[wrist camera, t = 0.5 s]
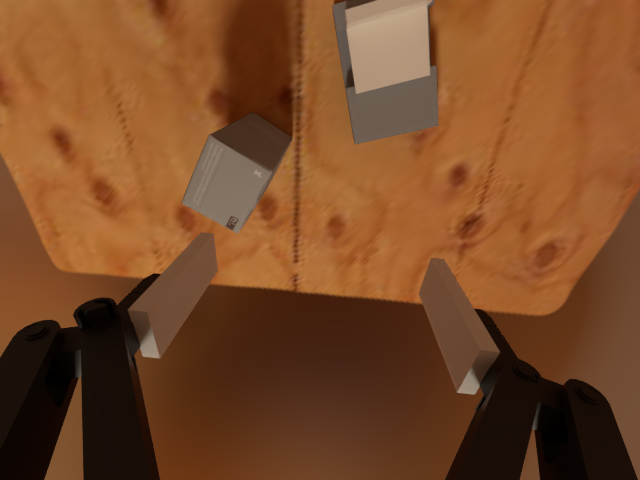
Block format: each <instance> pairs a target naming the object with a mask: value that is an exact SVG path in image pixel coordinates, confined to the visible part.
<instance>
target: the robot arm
mask: <svg viewBox="0 0 640 480" xmlns="http://www.w3.org/2000/svg"><path fill="white" fill-rule="evenodd" d="M217 271H218V268H217V259H216V250H215V241H214V234H212V233H203V232H201V233H200V234H199V235H198V236H197V237H196V238H195V239H194V240H193V241H192V242H191V244H190V245H189V246H188V247H187V248H186V249H185V250H184V251H183V252H182V253H181V254H180V255H179V256H178V257H177V258H176V259H175V260H174V261H173V262H172V264H171V265H170V266H169V267H168V268H167V269H166V270H165V271H164V272H163V273H162V274H155V273H154V274H152V275H150V276H148V277H146V278H145V279H143V280H142V281H141V282H140V283H139V284H138V285H137V287H135V288H134V289H133V290H132V291H131V293H129V294H128V295H127V296H126V297H125V298H124V299H123V300H122V301H121V302H120V303H119V304H118V305H116V303H115V301H114V300H113V299H111V298H97V299H93V300H90V301H88V302H86V303H84V304H82V305H80V306H79V307H78V308H77V309H76V310H75V312H74V315H73V316H74V318H75V320H76V322H77V325H78V326H77V327H70V328H61V327H60V325H59V323H58V322H56V321H54V320H43V321H39V322H36V323H33V324H31V325H28V326H26V327H24V328H23V329H22V330H20V331H19V332H17V334H16V335H15V336H14V337H13V338H12V340H11V341H10V343H9V345H8V346H7V348H6V349H5V351H4V352H3V354H2V356H1V357H0V480H44V478H45V476H46V473H47V470H48V467H49V464H50V461H51V458H52V455H53V452H54V449H55V446H56V443H57V440H58V437H59V434H60V431H61V428H62V425H63V422H64V419H65V416H66V414H67V411H68V407H69V405H70V402H71V399H72V396H73V393H74V390H75V387H76V384H77V381H78V378H79V377H82V378H81V381H82V424H83V425H82V426H83V469H84V471H83V472H84V480H160V478H159V472H158V467H157V462H156V457H155V452H154V448H153V442H152V437H151V433H150V428H149V423H148V418H147V413H146V408H145V404H144V398H143V393H142V388H141V383H140V379H139V374H138V369H137V364H136V359H135V356H134V355H135V353H136V352H137V351H138V349H139V348H140V349H141V352H142V355H143V356H144V357H153V358H161V356H162V355H163V353H164V352H165V350H166V349H167V347H168V346H169V344H170V343H171V341H172V340H173V338H174V337H175V335H176V333H177V332H178V330H179V329H180V327H181V326H182V324H183V323H184V321H185V320H186V318H187V317H188V315H189V314H190V312H191V311H192V309H193V307H194V306H195V305H196V303H197V302H198V300H199V299H200V297H201V296H202V294H203V292H204V291H205V289H206V288H207V286H208V285H209V284H210V282H211V280H212V279H213V277H214V276H215V274H216V273H217ZM419 295H420V298H421V300H422V303H423V305H424V308H425V311H426V313H427V316H428V318H429V321H430V324H431V326H432V329H433V331H434V334H435V337H436V339H437V342H438V344H439V347H440V349H441V352H442V355H443V357H444V360H445V363H446V365H447V368H448V371H449V373H450V376H451V378H452V381H453V383H454V386H455V389H456V391H457V393H465V394H475V393H476V391H477V390H478V388H479V386H480V387H481V390H482V392H483V394H484V396H483V397H482V399H481V401H480V402H479V404H478V405H477V407H476V408H475V410H476V412H475V414H474V416H473V419H472V421H471V423H470V425H469V427H468V430H467V432H466V434H465V436H464V439H463V441H462V443H461V445H460V448H459V450H458V452H457V454H456V456H455V459H454V461H453V463H452V465H451V467H450V470H449V472H448V474H447V476H446V479H445V480H520V476H521V472H522V467H523V463H524V459H525V455H526V451H527V447H528V443H529V439H530V435H531V431H532V429H534V430H535V438H536V447H537V456H538V464H539V473H540V480H638V479H637V476H636V474H635V471H634V468H633V466H632V463H631V460H630V457H629V455H628V452H627V449H626V447H625V444H624V441H623V439H622V436H621V433H620V431H619V428H618V425H617V423H616V420H615V417H614V414H613V412H612V409H611V406H610V404H609V403H608V401H607V400H606V398H605V397H604V396H603V395H602V394H601V393H600V392H599V391H598V390H596V389H595V388H594V387H592V386H591V385H589V384H587V383H585V382H583V381H579V380H577V379H569V380H568V381H566V383H565V384H564V385H561V384H558V383H555V382H552V381H550V380H547V379H544V378H542V377H541V375H540V373H539V372H538V371H537V370H536V369H535V368H534V367H532V366H531V365H530V364H528V363H527V362H524V361H522V360H520V359H518V358H517V356H516V355H515V353H514V352H513V350H512V349H511V347H510V345H509V344H508V342H507V341H506V339H505V338H504V337H503V335H501V332H500V331H499V329H498V328H497V326H496V324H495V323H494V321H493V320H492V318H491V317H490V316H489V315H487V313H485V312H484V311H483V310H481V309H474V308H473V306H472V305H471V303H470V301H469V300H468V298H467V296H466V295H465V293H464V292H463V290H462V288H461V287H460V285H459V283H458V282H457V280H456V278H455V277H454V275H453V273H452V272H451V270H450V268H449V267H448V265H447V263H446V262H445V260H444V259H437V258H431V260H430V263H429V266H428V269H427V272H426V275H425V277H424V280H423V283H422V286H421V289H420V292H419Z"/></svg>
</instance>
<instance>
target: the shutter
mask: <svg viewBox="0 0 640 480" xmlns="http://www.w3.org/2000/svg"><path fill="white" fill-rule="evenodd" d="M432 1H433V0H376V1H373V2H370V3H366V4H363V5H360V6H357V7H353V8H350V9H347V10H345V25H346V32H347V38H348V45H349V52H350V58H351V65H352V72H353V78H354V85H355V92H356V94H358V93H362V92H366V91H370V90H374V89H378V88H382V87H386V86H390V85H394V84H398V83H402V82H405V81H409V80H413V79H417V78H421V77H425V76H429V75H430V61H429V36H428V12H427V6H428V5H429V4H430V3H431V2H432Z"/></svg>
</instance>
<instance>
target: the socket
mask: <svg viewBox="0 0 640 480" xmlns="http://www.w3.org/2000/svg"><path fill="white" fill-rule="evenodd" d="M373 1H376V0H347V1H344V2H341V3H338V4H334V5H332V7H333V16H334V23H335V29H336V35H337V41H338V47H339V53H340V59H341V65H342V71H343V77H344V83H345V89H346V96H347V102H348V108H349V114H350V120H351V126H352V132H353V138H354V142H355V144H359V143H363V142H368V141H372V140H377V139H381V138H386V137H390V136H394V135H399V134H403V133H408V132H412V131H417V130H421V129H426V128H430V127H434V126H438V102H437V70H436V65H435V66H431V51H430V25H429V8H430V7H431V6H432V5H433V4H434V0H433V1H432V2H431V3H430V4H429V5H428V6H427V12H428V36H429V61H430V75H429V76H425V77H421V78H417V79H413V80H409V81H405V82H402V83H398V84H394V85H390V86H386V87H382V88H378V89H374V90H370V91H366V92H362V93H358V94H356V92H355V85H354V78H353V72H352V65H351V58H350V52H349V45H348V38H347V32H346V25H345V10H347V9H350V8H353V7H357V6H360V5H363V4H366V3H370V2H373Z"/></svg>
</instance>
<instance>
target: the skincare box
mask: <svg viewBox="0 0 640 480" xmlns="http://www.w3.org/2000/svg"><path fill="white" fill-rule="evenodd" d="M291 141H292V137H291V136H289V135H288V134H286V133H285V132H283V131H281V130H280V129H278V128H277V127H275V126H274V125H272V124H271V123H269V122H268V121H266V120H265V119H263V118H262V117H260V116H259V115H257V114H256V113H254V112H252V113H250V114H248V115H247V116H245V117H243V118H241V119H239V120H237V121H235V122H233V123H231V124H229V125H227V126H226V127H224V128H222V129H220V130H218V131H216V132H214V133H212V134H210V135H209V136H208V139H207V141H206V143H205V146H204V148H203V150H202V153H201V155H200V158H199V160H198V162H197V165H196V167H195V169H194V172H193V174H192V177H191V179H190V182H189V185H188V187H187V190H186V192H185V195H184V198H183V200H182V204H184V205H186V206H188V207H190V208H192V209H193V210H195V211H197V212H199V213H201V214H203V215H205V216H206V217H208V218H210V219H212V220H214V221H216V222H217V223H219V224H221V225H223V226H225V227H227V228H229V229H230V230H232V231H234V232H236V233H239V231H240V230H241V229H242V227H243V226H244V224H245V223H246V221H247V219H248V218H249V216H250V215H251V213H252V212H253V210H254V209H255V207H256V205H257V204H258V202H259V201H260V199H261V198H262V196H263V195H264V193H265V191H266V190H267V188H268V186H269V184H270V182H271V180H272V178H273V176H274V175H275V173H276V171H277V169H278V167H279V165H280V163H281V161H282V159H283V157H284V155H285V153H286V151H287V149H288V147H289V145H290V143H291Z"/></svg>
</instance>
